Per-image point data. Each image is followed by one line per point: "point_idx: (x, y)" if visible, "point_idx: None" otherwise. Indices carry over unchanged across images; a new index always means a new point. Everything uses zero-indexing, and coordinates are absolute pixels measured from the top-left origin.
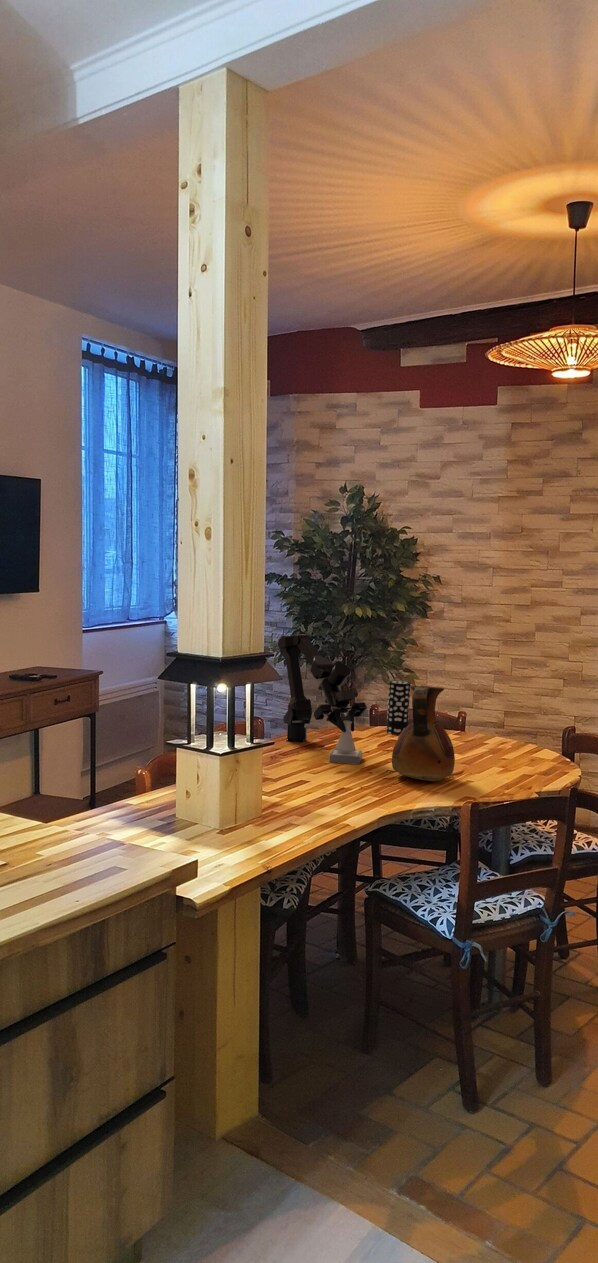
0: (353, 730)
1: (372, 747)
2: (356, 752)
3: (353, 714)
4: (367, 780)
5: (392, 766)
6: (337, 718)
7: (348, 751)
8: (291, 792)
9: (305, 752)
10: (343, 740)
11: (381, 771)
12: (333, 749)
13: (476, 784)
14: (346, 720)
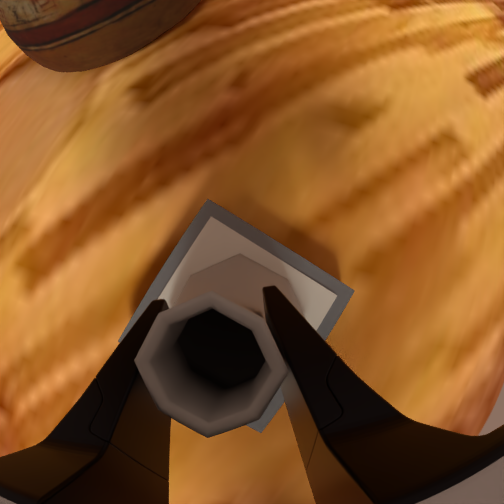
0: (164, 299)
1: None
2: (174, 297)
3: (47, 449)
4: (300, 21)
5: (194, 3)
6: (382, 404)
7: (249, 258)
8: (493, 44)
9: None
10: None
11: (184, 89)
12: (272, 409)
13: None
14: (159, 484)
